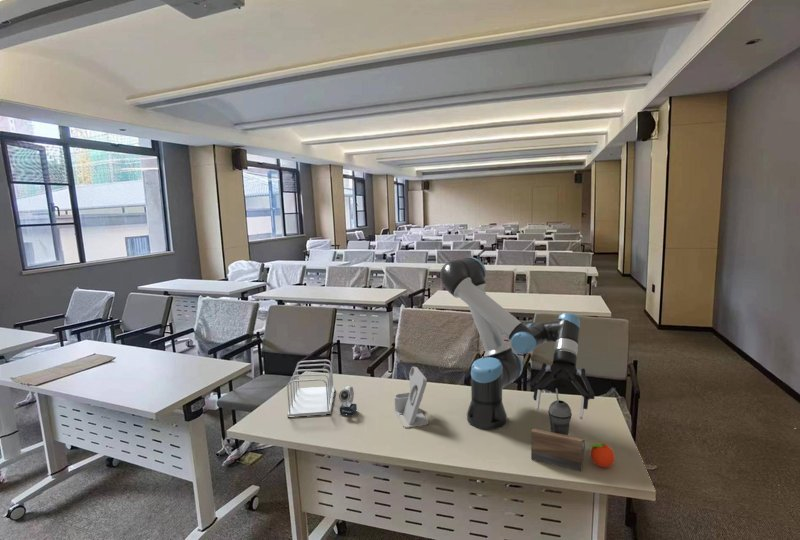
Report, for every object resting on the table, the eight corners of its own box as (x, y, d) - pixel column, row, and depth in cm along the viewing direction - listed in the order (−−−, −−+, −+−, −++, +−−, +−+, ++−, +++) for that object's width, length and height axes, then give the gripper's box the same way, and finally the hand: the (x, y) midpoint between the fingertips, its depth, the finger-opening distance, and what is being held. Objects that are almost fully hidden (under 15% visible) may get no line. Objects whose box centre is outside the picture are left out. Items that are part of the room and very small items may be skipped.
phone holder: (393, 408, 179) (391, 367, 176) (416, 405, 181) (415, 364, 179) (404, 428, 162) (402, 383, 159) (429, 424, 164) (428, 380, 162)
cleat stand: (580, 471, 133) (581, 441, 131) (531, 459, 140) (531, 431, 138) (584, 448, 145) (585, 420, 144) (538, 438, 152) (539, 412, 151)
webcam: (338, 416, 173) (336, 390, 172) (346, 407, 181) (345, 382, 179) (350, 418, 171) (349, 392, 170) (358, 409, 179) (357, 384, 177)
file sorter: (297, 392, 198) (295, 359, 196) (335, 390, 199) (333, 357, 197) (287, 418, 173) (284, 381, 171) (330, 415, 174) (328, 379, 172)
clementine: (589, 471, 133) (590, 449, 132) (584, 458, 140) (584, 437, 139) (617, 472, 132) (618, 451, 131) (610, 459, 138) (611, 439, 137)
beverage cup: (573, 452, 138) (574, 394, 135) (549, 450, 139) (550, 393, 136) (568, 440, 145) (570, 384, 142) (546, 438, 146) (547, 383, 143)
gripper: (605, 364, 146) (601, 425, 135) (530, 355, 158) (520, 410, 147) (604, 354, 141) (600, 417, 130) (527, 345, 153) (517, 402, 141)
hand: (558, 414), depth 138 cm, fingers open, 13 cm apart
